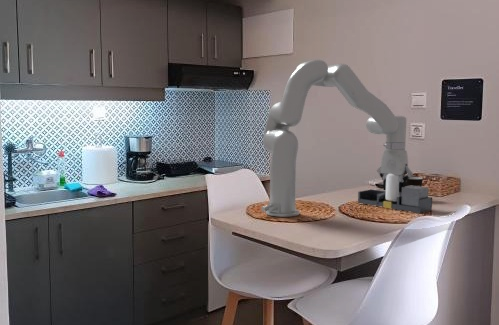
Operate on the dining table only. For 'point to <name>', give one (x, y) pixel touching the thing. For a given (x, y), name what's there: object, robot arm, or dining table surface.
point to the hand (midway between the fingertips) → (393, 190)
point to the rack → (400, 199)
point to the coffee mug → (414, 181)
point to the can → (392, 187)
